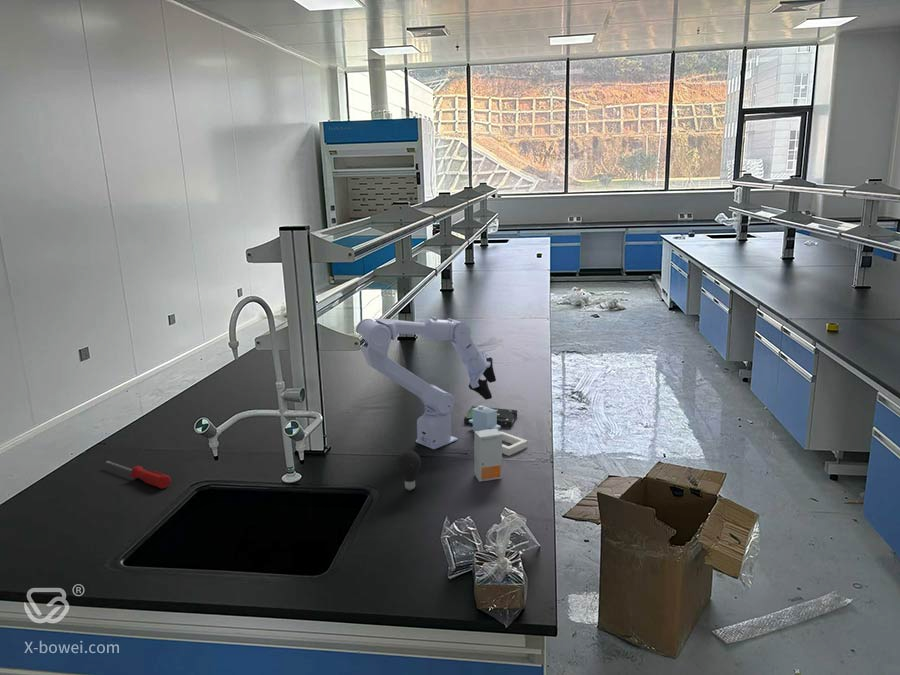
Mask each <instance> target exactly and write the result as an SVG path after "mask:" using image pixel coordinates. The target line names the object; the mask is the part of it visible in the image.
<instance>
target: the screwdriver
mask: <svg viewBox="0 0 900 675" xmlns="http://www.w3.org/2000/svg"><path fill="white" fill-rule="evenodd" d="M106 463H107V464H110V465H112V466H114V467H118V468H120V469H124V470H127V471H129V472H130V475H131V477H132V478H133V479H140V480H142V481H143V482H144V483H145V484H148V485H151V486H153V487H157V488H159V489H161V490H162V489H163V490H165V489H166V488H168V487H169V485H170V484H171V481H172V480H171V477H170V476H169V475H167V474H165V473H161V472H159V471H157V470H156V471H155V470H146V469H144V468H143V467H142V466H140V465H136V466H134V467H132V468H129V467H127V466H124V465H120V464H118V463H115V462H112V461H110V460H107V461H106Z"/></svg>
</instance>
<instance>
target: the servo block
mask: <svg viewBox="0 0 900 675" xmlns="http://www.w3.org/2000/svg"><path fill="white" fill-rule="evenodd" d="M475 407H476V408H474V409H472V412H473V419H471V420H469V422H470V423H473V425H472V432H475V431H482V430H490V429H497V430H499V429H501V428H502V427H501V426H500V425H497V410H494V409H491V408H492V407H487V406H484V405H478V406H475Z"/></svg>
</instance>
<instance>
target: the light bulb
mask: <svg viewBox="0 0 900 675" xmlns="http://www.w3.org/2000/svg"><path fill="white" fill-rule="evenodd" d="M421 466H422V460H421V457H420V455H419V454H418V453H417V452H415V451H414V450H411V449H410V450H406V451H403V452H401V453H400V454H399V455H398V458H397V468H398V470H399V472H400V473H401V475H402V477H403V480H404V487H405V489H406V490H408V491H412V490H413V489H415V487H416V478H417V474H418V472H419V470H420V469H421Z"/></svg>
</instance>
